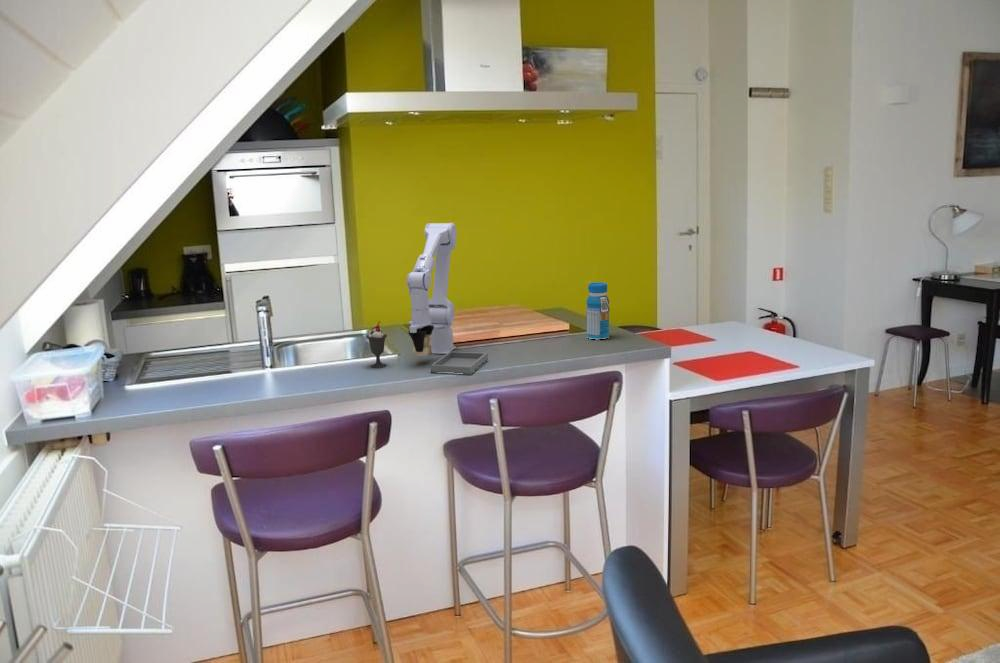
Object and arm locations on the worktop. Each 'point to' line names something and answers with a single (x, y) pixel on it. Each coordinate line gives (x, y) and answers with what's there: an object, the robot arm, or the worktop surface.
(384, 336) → the sundae
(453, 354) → the tray
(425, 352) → the block
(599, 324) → the beverage bottle
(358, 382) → the worktop surface
